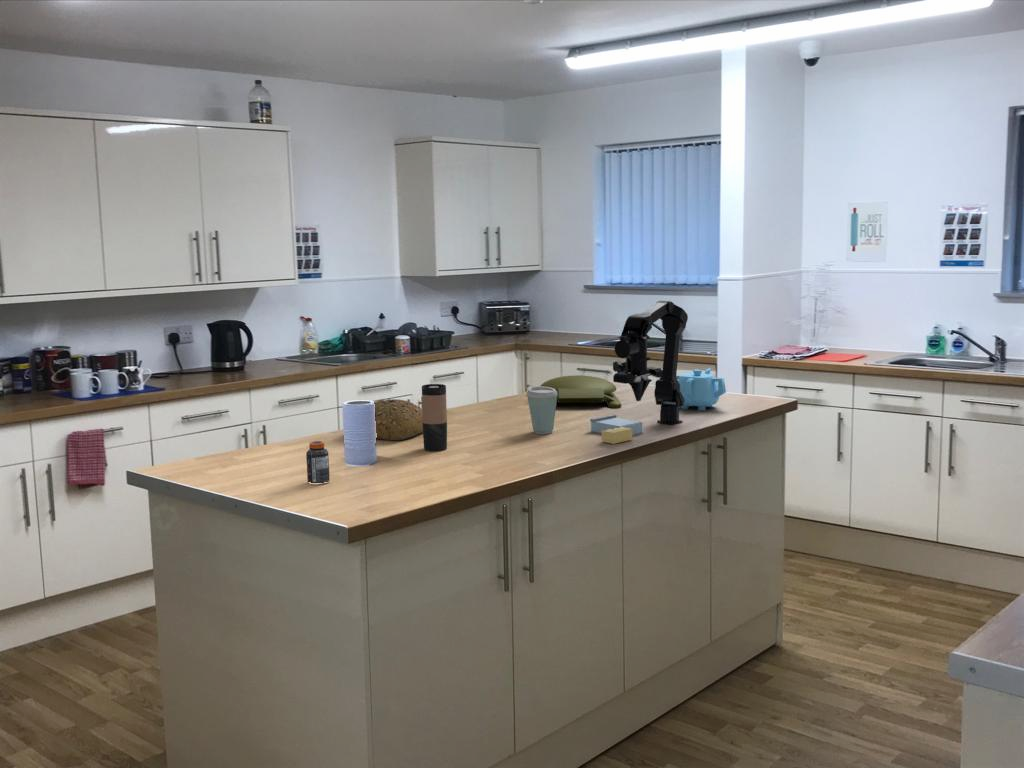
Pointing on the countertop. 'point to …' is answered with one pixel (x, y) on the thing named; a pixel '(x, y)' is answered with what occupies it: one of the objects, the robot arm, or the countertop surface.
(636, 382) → the robot arm
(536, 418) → the disposable coffee cup
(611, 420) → the ticket
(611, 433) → the stub
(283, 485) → the countertop surface
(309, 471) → the pill bottle
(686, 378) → the teapot
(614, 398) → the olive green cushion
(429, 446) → the travel mug
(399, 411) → the bread
